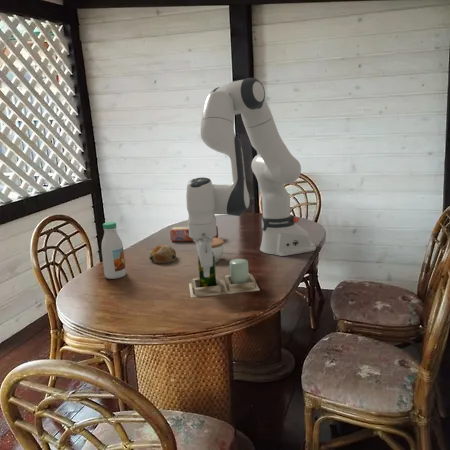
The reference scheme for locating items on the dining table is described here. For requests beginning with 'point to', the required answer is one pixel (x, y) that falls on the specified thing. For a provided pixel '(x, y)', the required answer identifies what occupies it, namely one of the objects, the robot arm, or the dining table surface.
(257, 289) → the caddy
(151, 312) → the dining table surface
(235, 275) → the mint green domed part
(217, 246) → the lidded jar
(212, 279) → the beer can
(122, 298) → the dining table surface
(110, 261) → the milk bottle
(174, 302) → the dining table surface
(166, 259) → the bread roll
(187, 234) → the snack package
